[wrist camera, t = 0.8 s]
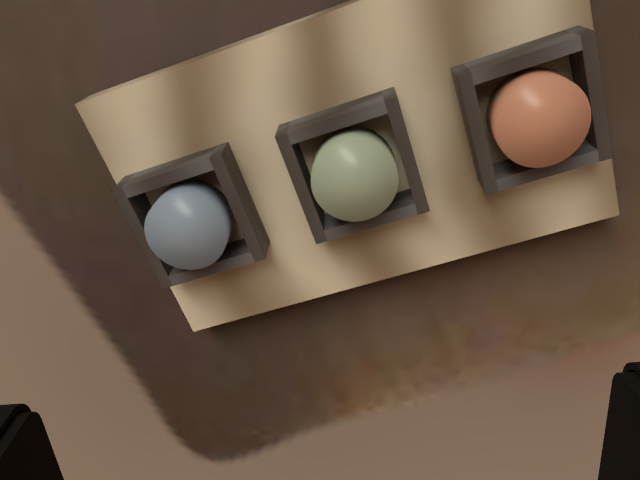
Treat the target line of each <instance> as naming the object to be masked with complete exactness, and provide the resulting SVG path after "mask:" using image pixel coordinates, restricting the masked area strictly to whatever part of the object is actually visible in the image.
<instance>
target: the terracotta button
mask: <svg viewBox="0 0 640 480" xmlns="http://www.w3.org/2000/svg"><path fill="white" fill-rule="evenodd" d="M486 121H487V127H488V130H489V132H490V134H491V136H492V138H493V139H494V141H495V142H496V143H497V145H498V146H499V147H500V149H501V150H502V151H503V153H504V154H505V155H506V156H507V157H508V158H509V159H511V160H512V161H513V162H515V163H517V164H519V165H522V166H525V167H531V168H542V167H548V166H552V165H554V164H557V163H559V162H561V161H563V160H565V159H566V158H568V157H569V156H570V155H572V154H573V153H574V152H575V151H576V150H577V149H578V148H579V147H580V145H581V144H582V143H583V141H584V139H585V138H586V135H587V133H588V131H589V128H590V123H591V107H590V103H589V101H588V98H587V96H586V95H585V93H584V92H583V91H582V89H581V88H580V87H579V86H577V85H576V84H575V83H573V82H572V81H570V80H568V79H567V78H565V77H563V76H562V75H560V74H559V73H557V72H555V71H553V70H550V69H546V68H528V69H524V70H521V71H518V72H516V73H514V74H512V75H510V76H509V77H507V78H506V79H505V80H504V81H503V82H501V83H500V85H499V86H498V87H497V88H496V89H495V91H494V92H493V94H492V96H491V98H490V100H489V103H488V107H487V112H486Z"/></svg>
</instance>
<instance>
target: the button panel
mask: <svg viewBox="0 0 640 480" xmlns="http://www.w3.org/2000/svg"><path fill="white" fill-rule="evenodd" d="M528 68H546V69H550V70H553V71H555V72H557V73H559V74H560V75H562V76H563V77H565V78H567V79H568V80H570V81H572V82H573V83H575V84H576V85H577V86H579V87H580V88H581V89H582V91H583V92H584V93H585V95H586V96H587V98H588V101H589V103H590V107H591V123H590V128H589V131H588V133H587V135H586V138H585V139H584V141H583V143H582V144H581V145H580V147H579V148H578V149H577V150H576V151H575V152H574V153H573V154H572V155H570V156H569V157H568V158H566V159H565V160H563V161H561V162H559V163H557V164H554V165H552V166H548V167H542V168H531V167H525V166H522V165H519V164H517V163H515V162H513V161H512V160H511V159H509V158H508V157H507V156H506V155H505V154H504V153H503V151H502V150H501V149H500V147H499V146H498V145H497V143H496V142H495V141H494V139H493V138H492V136H491V134H490V132H489V130H488V127H487V121H486V112H487V107H488V103H489V100H490V98H491V96H492V94H493V92H494V91H495V89H496V88H497V87H498V86H499V85H500V83H501V82H503V81H504V80H505V79H506V78H507V77H509V76H510V75H512V74H514V73H516V72H518V71H521V70H524V69H528ZM75 106H76V107H77V109H78V111H79V113H80V115H81V117H82V119H83V121H84V123H85V125H86V127H87V129H88V130H89V132H90V134H91V136H92V138H93V140H94V142H95V144H96V146H97V148H98V150H99V152H100V153H101V155H102V157H103V159H104V161H105V163H106V165H107V167H108V169H109V171H110V173H111V174H112V176H113V178H114V180H115V182H116V184H117V185H116V186H115V187H114V188H113V189H112V190H111V192H112V194H113V196H114V198H115V200H116V201H117V203H118V205H119V207H120V209H121V211H122V213H123V215H124V217H125V218H126V220H127V222H128V224H129V226H130V228H131V230H132V232H133V234H134V235H135V237H136V239H137V241H138V243H139V245H140V247H141V249H142V251H143V252H144V254H145V256H146V258H147V260H148V262H149V264H150V266H151V268H152V269H153V271H154V273H155V275H156V277H157V279H158V281H159V283H160V285H161V287H162V288H163V289H165V288H168V287H171V289H172V291H173V293H174V295H175V297H176V299H177V301H178V303H179V305H180V307H181V309H182V310H183V312H184V314H185V316H186V318H187V320H188V322H189V324H190V326H191V328H192V330H193V332H194V331H198V330H201V329H205V328H209V327H212V326H216V325H220V324H223V323H227V322H230V321H234V320H238V319H241V318H245V317H249V316H252V315H256V314H260V313H263V312H267V311H271V310H274V309H278V308H282V307H285V306H289V305H293V304H296V303H300V302H303V301H307V300H311V299H314V298H318V297H322V296H325V295H329V294H333V293H336V292H340V291H344V290H347V289H351V288H355V287H358V286H362V285H365V284H369V283H373V282H376V281H380V280H384V279H387V278H391V277H395V276H398V275H402V274H406V273H409V272H413V271H417V270H420V269H424V268H427V267H431V266H435V265H438V264H442V263H446V262H449V261H453V260H457V259H460V258H464V257H468V256H471V255H475V254H479V253H482V252H486V251H490V250H493V249H497V248H500V247H504V246H508V245H511V244H515V243H519V242H522V241H526V240H530V239H533V238H537V237H541V236H544V235H548V234H552V233H555V232H559V231H562V230H566V229H570V228H573V227H577V226H581V225H584V224H588V223H592V222H595V221H599V220H603V219H606V218H610V217H614V216H617V215H619V208H618V201H617V193H616V186H615V179H614V172H613V165H612V158H613V155H612V148H611V141H610V134H609V126H608V119H607V112H606V105H605V97H604V90H603V83H602V76H601V69H600V61H599V54H598V47H597V40H596V33H595V31H594V29H593V22H592V15H591V7H590V0H350V1H348V2H345V3H342V4H339V5H337V6H334V7H331V8H329V9H326V10H323V11H320V12H318V13H315V14H312V15H309V16H307V17H304V18H301V19H298V20H296V21H293V22H290V23H287V24H285V25H282V26H279V27H276V28H274V29H271V30H268V31H265V32H263V33H260V34H257V35H254V36H252V37H249V38H246V39H243V40H241V41H238V42H235V43H232V44H230V45H227V46H224V47H221V48H219V49H216V50H213V51H210V52H208V53H205V54H202V55H200V56H197V57H194V58H191V59H189V60H186V61H183V62H180V63H178V64H175V65H172V66H169V67H167V68H164V69H161V70H158V71H156V72H153V73H150V74H147V75H145V76H142V77H139V78H136V79H134V80H131V81H128V82H125V83H123V84H120V85H117V86H114V87H112V88H109V89H106V90H103V91H101V92H98V93H95V94H92V95H90V96H88V97H87V98H85V99H83V100H82V101H80V102H78V103H77V104H75ZM346 127H363V128H367V129H370V130H372V131H374V132H376V133H378V134H379V135H380V136H382V137H383V138H384V139H385V140H386V141H387V143H388V144H389V145H390V147H391V149H392V151H393V154H394V158H395V162H396V167H397V171H398V178H399V182H398V189H397V192H396V195H395V197H394V199H393V201H392V202H391V204H390V205H389V206H388V207H387V208H386V209H385V210H384V211H383V212H382V213H380V214H379V215H377V216H375V217H373V218H371V219H368V220H364V221H357V222H351V221H344V220H340V219H338V218H335V217H333V216H331V215H330V214H328V213H327V212H325V211H324V210H323V209H322V208H321V207H320V205H319V204H318V203H317V201H316V200H315V198H314V195H313V192H312V189H311V172H312V166H313V159H314V155H315V153H316V150H317V148H318V147H319V145H320V144H321V142H322V141H323V140H324V139H325V138H326V137H327V136H328V135H330V134H331V133H333V132H335V131H337V130H339V129H342V128H346ZM183 180H199V181H203V182H206V183H208V184H211V185H212V186H214V187H216V188H217V189H219V190H220V191H221V192H222V193H223V194H224V195H225V196H226V198H227V200H228V203H229V205H230V207H231V209H232V212H233V214H234V225H233V229H232V232H231V234H230V237H229V239H228V242H227V244H226V247H225V249H224V252H223V253H222V255H221V256H220V257H219V259H218V260H217V261H215V262H214V263H213V264H211V265H209V266H207V267H205V268H201V269H196V270H185V269H180V268H176V267H173V266H171V265H169V264H167V263H165V262H164V261H162V260H161V259H160V258H158V257H157V256H156V255H155V254H154V252H153V251H152V250H151V248H150V247H149V245H148V243H147V240H146V237H145V232H144V224H145V219H146V216H147V214H148V212H149V210H150V209H151V208H152V206H153V205H154V203H155V202H156V201H157V199H158V198H159V197H160V195H161V194H162V193H163V192H164V190H165V189H166V188H168V187H169V186H170V185H172V184H174V183H176V182H179V181H183Z"/></svg>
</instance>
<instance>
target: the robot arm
mask: <svg viewBox="0 0 640 480" xmlns="http://www.w3.org/2000/svg"><path fill="white" fill-rule="evenodd" d="M0 480H64V479H63V476H62V474H61V471H60V468H59V465H58V463H57V460H56V457H55V454H54V452H53V449H52V446H51V444H50V441H49V438H48V435H47V432H46V430H45V427H44V424H43V422H42V419H41V417H40V415H39V414H38V413H37V412H31V410H30V408H29V407H28V406H27V405H26V404H10V405H0ZM598 480H640V362H631V363H627V364H626V365H625V367H624V369H623V372H622V373H616V374H615V375H614V377H613V380H612V387H611V395H610V401H609V408H608V415H607V422H606V428H605V435H604V442H603V449H602V456H601V462H600V469H599V477H598Z"/></svg>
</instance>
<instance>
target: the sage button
mask: <svg viewBox="0 0 640 480" xmlns="http://www.w3.org/2000/svg"><path fill="white" fill-rule="evenodd" d="M398 182H399V178H398V171H397V167H396V162H395V158H394V154H393V151H392V149H391V147H390V145H389V144H388V143H387V141H386V140H385V139H384V138H383V137H382V136H380V135H379V134H378V133H376V132H374V131H372V130H370V129H367V128H363V127H346V128H342V129H339V130H337V131H335V132H333V133H331V134H330V135H328V136H327V137H326V138H325V139H324V140H323V141H322V142H321V144H320V145H319V147H318V148H317V150H316V153H315V155H314V159H313V166H312V172H311V189H312V192H313V195H314V198H315V200H316V201H317V203H318V204H319V205H320V207H321V208H322V209H323V210H324V211H325V212H327V213H328V214H330V215H331V216H333V217H335V218H338V219H340V220H344V221H351V222H357V221H364V220H368V219H371V218H373V217H375V216H377V215H379V214H380V213H382V212H383V211H384V210H385V209H386V208H387V207H388V206H389V205H390V204H391V202H392V201H393V199H394V197H395V195H396V192H397V189H398Z"/></svg>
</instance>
